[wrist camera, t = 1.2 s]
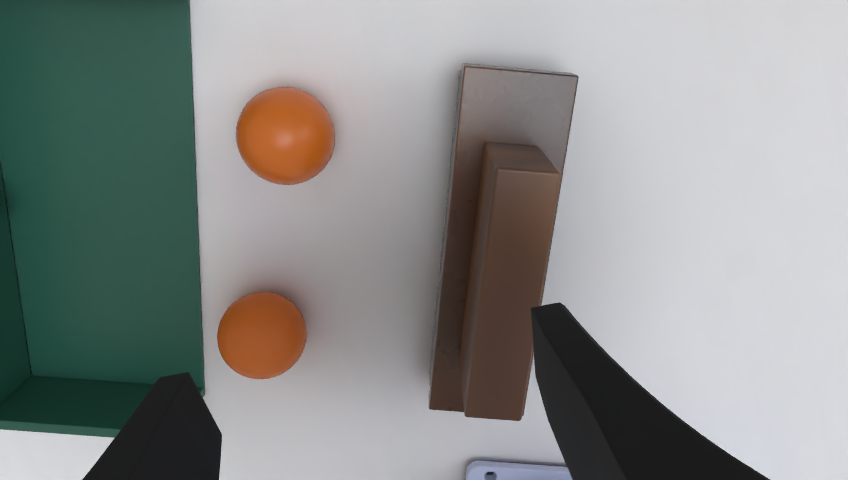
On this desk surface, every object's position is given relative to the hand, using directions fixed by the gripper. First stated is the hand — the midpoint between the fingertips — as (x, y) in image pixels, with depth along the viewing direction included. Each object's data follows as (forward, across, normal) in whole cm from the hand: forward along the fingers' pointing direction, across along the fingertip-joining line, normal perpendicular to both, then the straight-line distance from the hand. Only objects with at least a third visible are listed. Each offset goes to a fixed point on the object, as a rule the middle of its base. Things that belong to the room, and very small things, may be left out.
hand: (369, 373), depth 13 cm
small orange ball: (+10, +2, -1) cm, 10 cm away
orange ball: (+8, +5, +6) cm, 11 cm away
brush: (+10, -4, +4) cm, 11 cm away
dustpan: (+12, +13, 0) cm, 18 cm away
